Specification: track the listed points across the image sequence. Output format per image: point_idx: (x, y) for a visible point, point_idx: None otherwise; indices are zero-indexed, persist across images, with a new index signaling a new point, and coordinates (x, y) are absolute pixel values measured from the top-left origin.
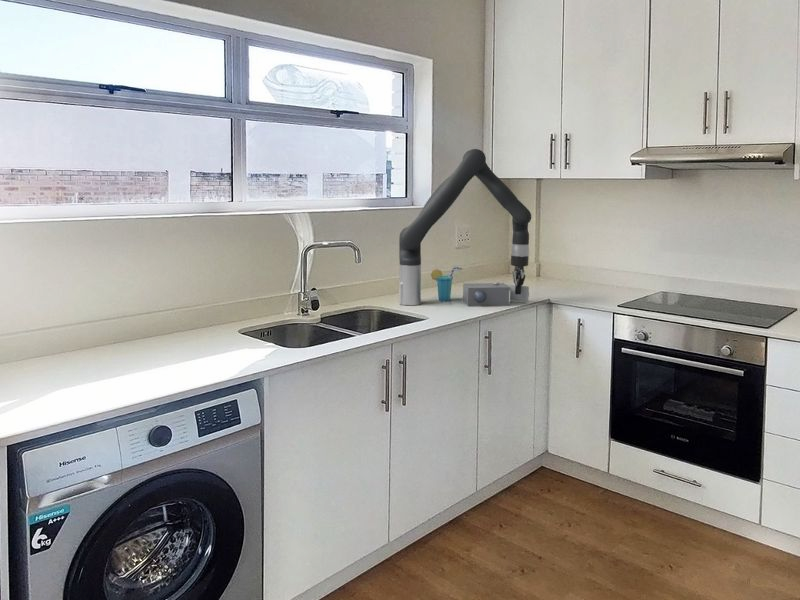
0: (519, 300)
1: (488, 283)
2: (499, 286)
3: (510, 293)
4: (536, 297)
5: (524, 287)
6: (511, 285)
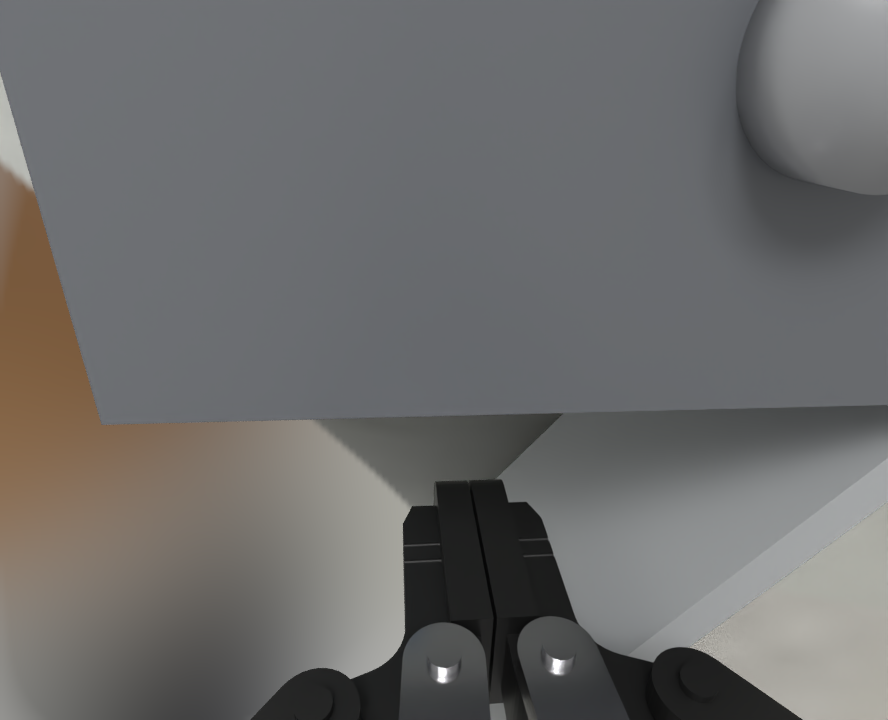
0: (519, 470)
1: None
2: (281, 46)
3: (676, 414)
4: (780, 668)
5: (505, 718)
6: (760, 541)
